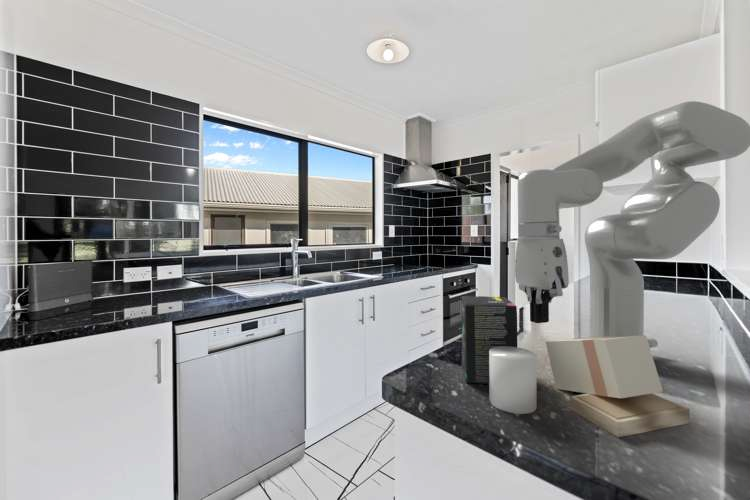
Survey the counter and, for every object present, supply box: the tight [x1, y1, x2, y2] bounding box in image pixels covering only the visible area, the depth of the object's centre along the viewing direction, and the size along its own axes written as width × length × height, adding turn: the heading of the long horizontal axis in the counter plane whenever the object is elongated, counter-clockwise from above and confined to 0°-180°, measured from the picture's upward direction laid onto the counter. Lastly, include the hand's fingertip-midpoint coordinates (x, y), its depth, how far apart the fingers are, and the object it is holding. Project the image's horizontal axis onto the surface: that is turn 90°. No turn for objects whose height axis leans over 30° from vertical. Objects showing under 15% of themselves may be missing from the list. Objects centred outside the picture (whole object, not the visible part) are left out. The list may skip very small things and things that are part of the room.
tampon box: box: [461, 295, 518, 385], centre depth 63 cm, size 11×9×15 cm
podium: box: [569, 393, 691, 438], centre depth 47 cm, size 13×8×2 cm, turn 104°
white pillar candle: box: [488, 346, 538, 415], centre depth 52 cm, size 7×7×8 cm
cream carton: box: [545, 334, 664, 398], centre depth 53 cm, size 8×8×12 cm
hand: (539, 321), depth 66 cm, fingers closed
